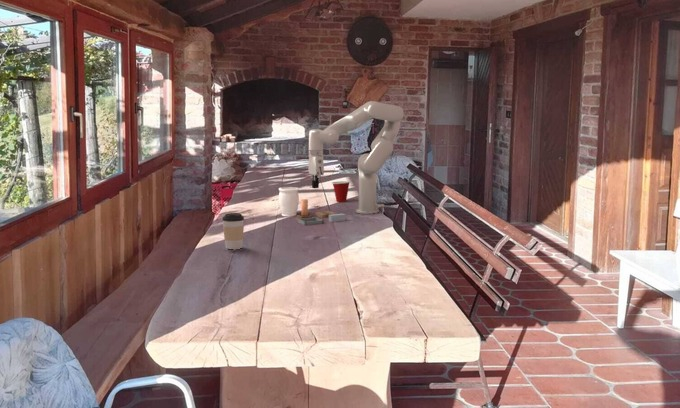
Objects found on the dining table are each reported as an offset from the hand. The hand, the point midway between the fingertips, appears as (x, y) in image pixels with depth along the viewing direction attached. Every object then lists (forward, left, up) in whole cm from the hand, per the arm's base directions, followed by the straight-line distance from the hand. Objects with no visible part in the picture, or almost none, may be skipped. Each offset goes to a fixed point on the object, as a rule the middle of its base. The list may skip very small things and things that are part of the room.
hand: (315, 187), depth 357 cm
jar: (+14, -2, -15) cm, 21 cm away
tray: (+13, +23, -14) cm, 30 cm away
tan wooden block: (-1, +10, -15) cm, 18 cm away
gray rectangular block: (-1, +24, -14) cm, 28 cm away
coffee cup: (+62, +52, -15) cm, 83 cm away
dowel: (+12, +14, -13) cm, 23 cm away
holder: (+12, +14, -14) cm, 23 cm away
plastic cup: (-31, -30, -15) cm, 45 cm away
